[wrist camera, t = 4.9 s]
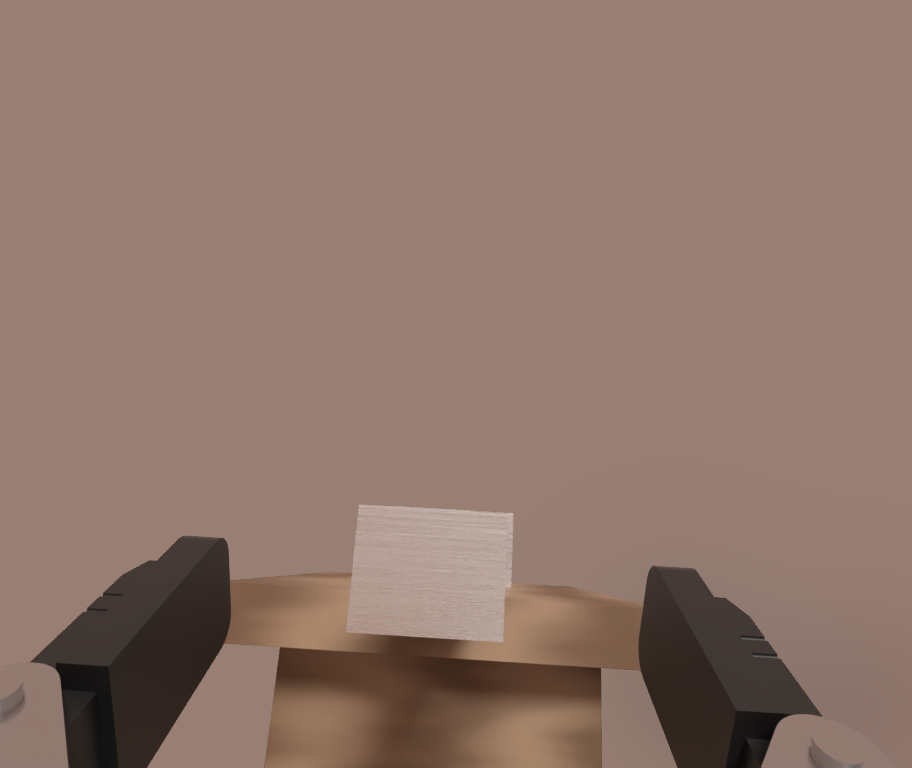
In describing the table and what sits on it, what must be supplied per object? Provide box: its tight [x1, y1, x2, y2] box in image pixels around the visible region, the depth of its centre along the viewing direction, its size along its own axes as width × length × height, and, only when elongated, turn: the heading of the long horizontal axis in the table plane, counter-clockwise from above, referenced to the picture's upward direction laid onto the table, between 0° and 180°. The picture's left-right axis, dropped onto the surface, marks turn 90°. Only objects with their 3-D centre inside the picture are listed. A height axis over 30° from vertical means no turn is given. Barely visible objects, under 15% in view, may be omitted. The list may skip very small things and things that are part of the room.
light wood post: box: [346, 505, 513, 642], centre depth 25 cm, size 7×32×4 cm, turn 0°
